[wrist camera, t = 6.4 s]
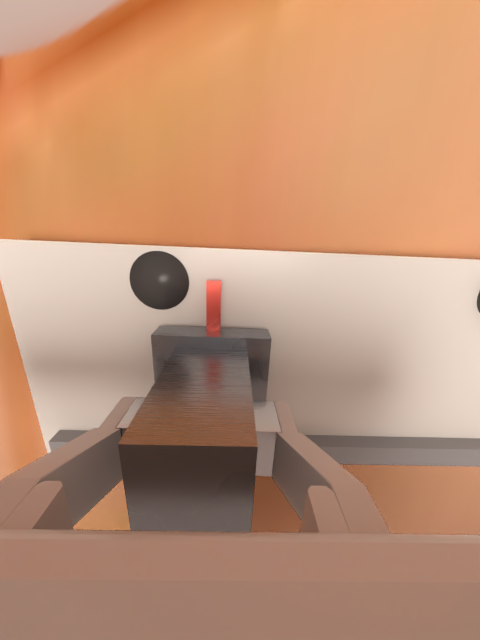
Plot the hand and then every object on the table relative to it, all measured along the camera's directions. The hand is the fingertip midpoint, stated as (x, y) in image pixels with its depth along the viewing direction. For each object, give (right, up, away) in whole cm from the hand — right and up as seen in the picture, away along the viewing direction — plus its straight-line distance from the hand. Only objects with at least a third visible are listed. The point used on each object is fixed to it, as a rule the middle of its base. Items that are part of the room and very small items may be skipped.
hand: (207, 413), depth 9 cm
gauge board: (+3, +1, +5) cm, 6 cm away
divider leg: (0, +2, +2) cm, 3 cm away
